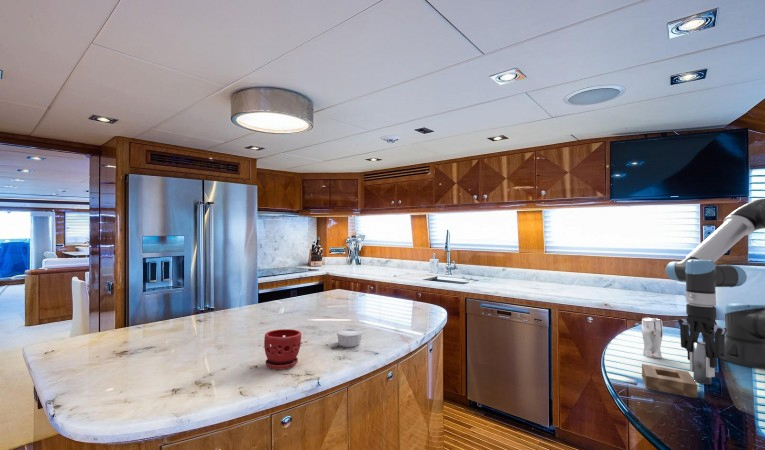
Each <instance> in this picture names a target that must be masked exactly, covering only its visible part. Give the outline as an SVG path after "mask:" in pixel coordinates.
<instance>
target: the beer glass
mask: <svg viewBox="0 0 765 450" xmlns="http://www.w3.org/2000/svg"><path fill="white" fill-rule="evenodd" d="M663 326H664V325H663V320H662V319H658V318H654V317H652V318H651V317H642V318H641V334H642V340H643V346H644V347H643V353H642V354H643V356H645V357H647V358H651V359H662V356H663V355H662V352H661V346H662V340H663V334H664V329H663V328H664V327H663Z"/></svg>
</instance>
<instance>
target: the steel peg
mask: <svg viewBox="0 0 765 450" xmlns="http://www.w3.org/2000/svg"><path fill="white" fill-rule="evenodd" d="M707 356H708V352H707V348H706V344H705V341H700V340H699V341H693V369H694V372H693V379H694V380H695V382H696V383H697V384H702V385H708V386H709V385H712V377H706V357H707Z"/></svg>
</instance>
